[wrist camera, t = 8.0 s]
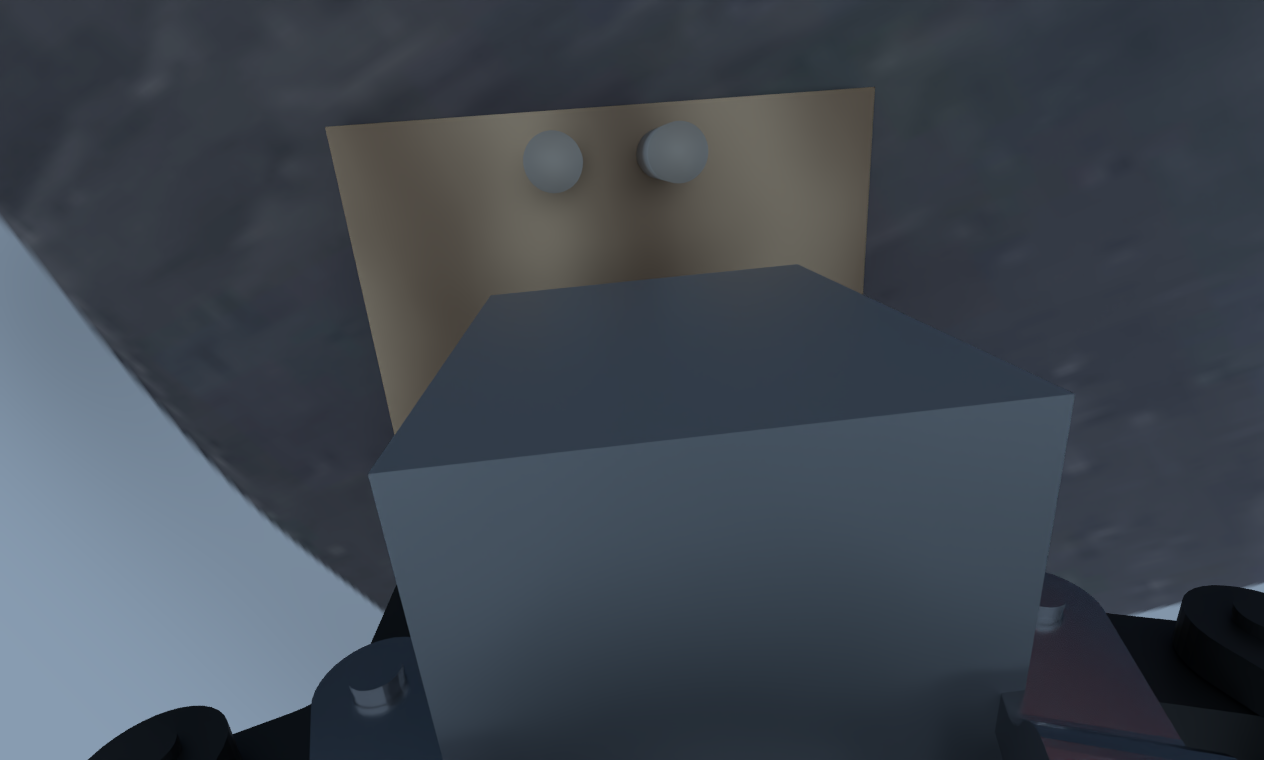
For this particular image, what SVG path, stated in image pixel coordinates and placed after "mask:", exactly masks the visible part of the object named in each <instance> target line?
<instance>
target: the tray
mask: <svg viewBox="0 0 1264 760" xmlns="http://www.w3.org/2000/svg"><path fill="white" fill-rule="evenodd" d="M874 95H875V87H867V88H853V89H840V90H826V91H812V92H798V93H785V94H771V95H757V96H743V97H730V98H716V99H702V100H689V101H675V102H661V103H647V104H634V105H620V106H606V107H592V108H579V109H565V110H551V111H537V112H524V113H510V114H496V115H482V116H469V117H455V118H441V119H428V120H414V121H400V122H386V123H373V124H359V125H345V126H331V127H325V129H326V133H327V138H328V142H329V146H330V151H331V155H332V160H333V164H334V169H335V173H336V177H337V182H338V186H339V191H340V195H341V200H342V204H343V208H344V213H345V217H346V222H347V226H348V231H349V235H350V239H351V244H352V248H353V253H354V257H355V262H356V266H357V271H358V275H359V279H360V284H361V288H362V293H363V297H364V302H365V306H366V310H367V315H368V319H369V324H370V328H371V333H372V337H373V341H374V346H375V350H376V355H377V359H378V364H379V368H380V372H381V377H382V381H383V386H384V390H385V395H386V399H387V403H388V408H389V412H390V417H391V421H392V426H393V430H394V435H395V434H396V432H397V431H398V430H399V428H400V427H401V425H402V424H403V422H404V421H405V419H406V418H407V416H408V415H409V414H410V412H411V411H412V409H413V408H414V406H415V405H416V403H417V402H418V400H419V399H420V397H421V396H422V395H423V393H424V392H425V390H426V389H427V387H428V386H429V384H430V383H431V381H432V380H433V379H434V377H435V376H436V374H437V373H438V371H439V370H440V368H441V367H442V365H443V364H444V363H445V361H446V360H447V358H448V357H449V355H450V354H451V352H452V351H453V349H454V348H455V347H456V345H457V344H458V342H459V341H460V339H461V338H462V336H463V335H464V333H465V332H466V330H467V329H468V328H469V326H470V325H471V323H472V322H473V320H474V319H475V317H476V316H477V314H478V313H479V312H480V310H481V309H482V307H483V306H484V304H485V303H486V301H487V300H488V298H489V297H490V296H491V295H499V294H509V293H519V292H529V291H539V290H548V289H558V288H568V287H578V286H588V285H598V284H607V283H617V282H627V281H637V280H647V279H657V278H666V277H676V276H686V275H696V274H706V273H716V272H725V271H735V270H745V269H755V268H765V267H775V266H784V265H794V264H798V265H800V266H803V267H805V268H807V269H809V270H811V271H813V272H815V273H817V274H820V275H822V276H824V277H826V278H828V279H830V280H832V281H835V282H837V283H839V284H841V285H843V286H845V287H847V288H850V289H852V290H854V291H856V292H858V293H860V294H862V295H863V284H864V267H865V250H866V232H867V215H868V198H869V181H870V164H871V147H872V129H873V112H874Z"/></svg>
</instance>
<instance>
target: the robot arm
mask: <svg viewBox="0 0 1264 760" xmlns="http://www.w3.org/2000/svg"><path fill="white" fill-rule="evenodd" d="M995 734H996V738H997V741H998V745H999V748H1000V752H1001V756H1002V760H1264V593H1262V592H1259V591H1255V590H1251V589H1245V588H1240V587H1233V586H1220V585H1211V586H1202V587H1198V588H1194V589H1192V590H1190V591H1188V592H1187V593H1186V594H1185V595H1184V597H1183V600H1182V603H1181V607H1180V611H1179V614H1178V618H1177V621H1172V620H1164V619H1155V618H1145V617H1136V616H1127V615H1118V614H1110V613H1106V612H1105V611H1104V609H1103V608H1102V607H1101V605H1100V604H1099V603H1098V602H1097V601H1096V600H1095V599H1094V598H1093V597H1092V596H1091V595H1089V594H1088V593H1087V592H1086V591H1084V590H1083V589H1081V588H1080V587H1078V586H1076V585H1075V584H1073V583H1071V582H1069V581H1067V580H1065V579H1063V578H1060V577H1058V576H1055V575H1053V574H1050V573H1046V572H1045V576H1044V581H1043V587H1042V593H1041V599H1040V605H1039V611H1038V617H1037V623H1036V629H1035V635H1034V641H1033V646H1032V652H1031V658H1030V664H1029V670H1028V676H1027V682H1026V688H1025V690H1021V691H1013V692H1005V693H1001V697H1000V703H999V709H998V715H997V721H996V727H995ZM88 760H443V758H442V754H441V750H440V747H439V743H438V739H437V735H436V731H435V728H434V724H433V720H432V716H431V712H430V709H429V705H428V701H427V697H426V693H425V690H424V686H423V682H422V678H421V674H420V671H419V667H418V663H417V659H416V655H415V651H414V648H413V644H412V640H411V636H410V632H409V629H408V625H407V621H406V617H405V613H404V610H403V606H402V602H401V598H400V594H399V591H398V587H397V585H396V587H395V589H394V592H393V594H392V596H391V599H390V601H389V603H388V605H387V608H386V610H385V612H384V615H383V617H382V620H381V621H380V624H379V626H378V629H377V631H376V633H375V635H374V638H373V640H372V642H371V644H369V645H367V646H365V647H362V648H361V649H359V650H357V651H355V652H353V653H352V654H350V655H348V656H347V657H346V658H344V659H343V660H341V661H340V662H339V663H338V664H336V665H335V666H334V667H333V668H332V669H331V670H330V671H329V672H328V673H327V674H326V676H325V677H324V678H323V679H322V681H321V682H320V684H319V686H318V687H317V689H316V690H315V693H314V696H313V698H312V704H310V705H308V706H306V707H305V708H302V709H300V710H297V711H295V712H293V713H290V714H287V715H284V716H282V717H279V718H276V719H274V720H271V721H268V722H265V723H263V724H260V725H257V726H254V727H252V728H249V729H246V730H243V731H241V732H238V733H235V734H232V732H231V729H230V727H229V724H228V722H227V720H226V718H225V716H224V715H223V714H222V713H221V712H220V711H219V710H217V709H214V708H212V707H207V706H189V707H182V708H178V709H174V710H170V711H167V712H164V713H161V714H159V715H156V716H154V717H151V718H149V719H147V720H145V721H143V722H141V723H139V724H137V725H135V726H133V727H132V728H130V729H128V730H126V731H125V732H123V733H122V734H120V735H119V736H117V737H115V738H114V739H113V740H111V741H110V742H109V743H107V744H106V745H105V746H103V747H102V748H101V749H100V750H99V751H97V752H96V753H95V754H94V755H93V756H92V757H90V758H89V759H88Z"/></svg>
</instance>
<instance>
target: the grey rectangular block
mask: <svg viewBox="0 0 1264 760" xmlns="http://www.w3.org/2000/svg"><path fill="white" fill-rule="evenodd" d="M1074 398H1075V394H1074V393H1072V392H1070V391H1068V390H1066V389H1064V388H1062V387H1059V386H1057V385H1055V384H1053V383H1051V382H1049V381H1047V380H1044V379H1042V378H1040V377H1038V376H1036V375H1034V374H1032V373H1029V372H1027V371H1025V370H1023V369H1021V368H1019V367H1017V366H1014V365H1012V364H1010V363H1008V362H1006V361H1004V360H1002V359H999V358H997V357H995V356H993V355H991V354H989V353H987V352H985V351H982V350H980V349H978V348H976V347H974V346H972V345H970V344H967V343H965V342H963V341H961V340H959V339H957V338H955V337H952V336H950V335H948V334H946V333H944V332H942V331H940V330H937V329H935V328H933V327H931V326H929V325H927V324H925V323H922V322H920V321H918V320H916V319H914V318H912V317H910V316H907V315H905V314H903V313H901V312H899V311H897V310H895V309H892V308H890V307H888V306H886V305H884V304H882V303H880V302H877V301H875V300H873V299H871V298H869V297H867V296H865V295H862V294H860V293H858V292H856V291H854V290H852V289H850V288H847V287H845V286H843V285H841V284H839V283H837V282H835V281H832V280H830V279H828V278H826V277H824V276H822V275H820V274H817V273H815V272H813V271H811V270H809V269H807V268H805V267H803V266H800V265H798V264H794V265H784V266H775V267H765V268H755V269H745V270H735V271H725V272H716V273H706V274H696V275H686V276H676V277H666V278H657V279H647V280H637V281H627V282H617V283H607V284H598V285H588V286H578V287H568V288H558V289H548V290H539V291H529V292H519V293H509V294H499V295H491V296H490V297H489V298H488V300H487V301H486V303H485V304H484V306H483V307H482V309H481V310H480V312H479V313H478V314H477V316H476V317H475V319H474V320H473V322H472V323H471V325H470V326H469V328H468V329H467V330H466V332H465V333H464V335H463V336H462V338H461V339H460V341H459V342H458V344H457V345H456V347H455V348H454V349H453V351H452V352H451V354H450V355H449V357H448V358H447V360H446V361H445V363H444V364H443V365H442V367H441V368H440V370H439V371H438V373H437V374H436V376H435V377H434V379H433V380H432V381H431V383H430V384H429V386H428V387H427V389H426V390H425V392H424V393H423V395H422V396H421V397H420V399H419V400H418V402H417V403H416V405H415V406H414V408H413V409H412V411H411V412H410V414H409V415H408V416H407V418H406V419H405V421H404V422H403V424H402V425H401V427H400V428H399V430H398V431H397V432H396V434H395V435H394V437H393V438H392V440H391V441H390V443H389V444H388V446H387V447H386V448H385V450H384V451H383V453H382V454H381V456H380V457H379V459H378V460H377V462H376V463H375V465H374V466H373V467H372V469H371V470H370V472H369V473H368V476H369V480H370V484H371V488H372V492H373V495H374V499H375V503H376V507H377V511H378V514H379V518H380V522H381V526H382V530H383V534H384V537H385V541H386V545H387V549H388V553H389V556H390V560H391V564H392V568H393V572H394V575H395V579H396V583H397V587H398V591H399V594H400V598H401V602H402V606H403V610H404V613H405V617H406V621H407V625H408V629H409V632H410V636H411V640H412V644H413V648H414V651H415V655H416V659H417V663H418V667H419V671H420V674H421V678H422V682H423V686H424V690H425V693H426V697H427V701H428V705H429V709H430V712H431V716H432V720H433V724H434V728H435V731H436V735H437V739H438V743H439V747H440V750H441V754H442V758H443V760H1002V756H1001V752H1000V748H999V745H998V741H997V738H996V734H995V727H996V721H997V715H998V709H999V703H1000V697H1001V693H1005V692H1013V691H1021V690H1025V688H1026V682H1027V676H1028V670H1029V664H1030V658H1031V652H1032V646H1033V641H1034V635H1035V629H1036V623H1037V617H1038V611H1039V605H1040V599H1041V593H1042V587H1043V581H1044V576H1045V570H1046V564H1047V558H1048V552H1049V546H1050V540H1051V534H1052V528H1053V522H1054V516H1055V510H1056V505H1057V499H1058V493H1059V487H1060V481H1061V475H1062V469H1063V463H1064V457H1065V451H1066V445H1067V440H1068V434H1069V428H1070V422H1071V416H1072V410H1073V404H1074Z"/></svg>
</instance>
